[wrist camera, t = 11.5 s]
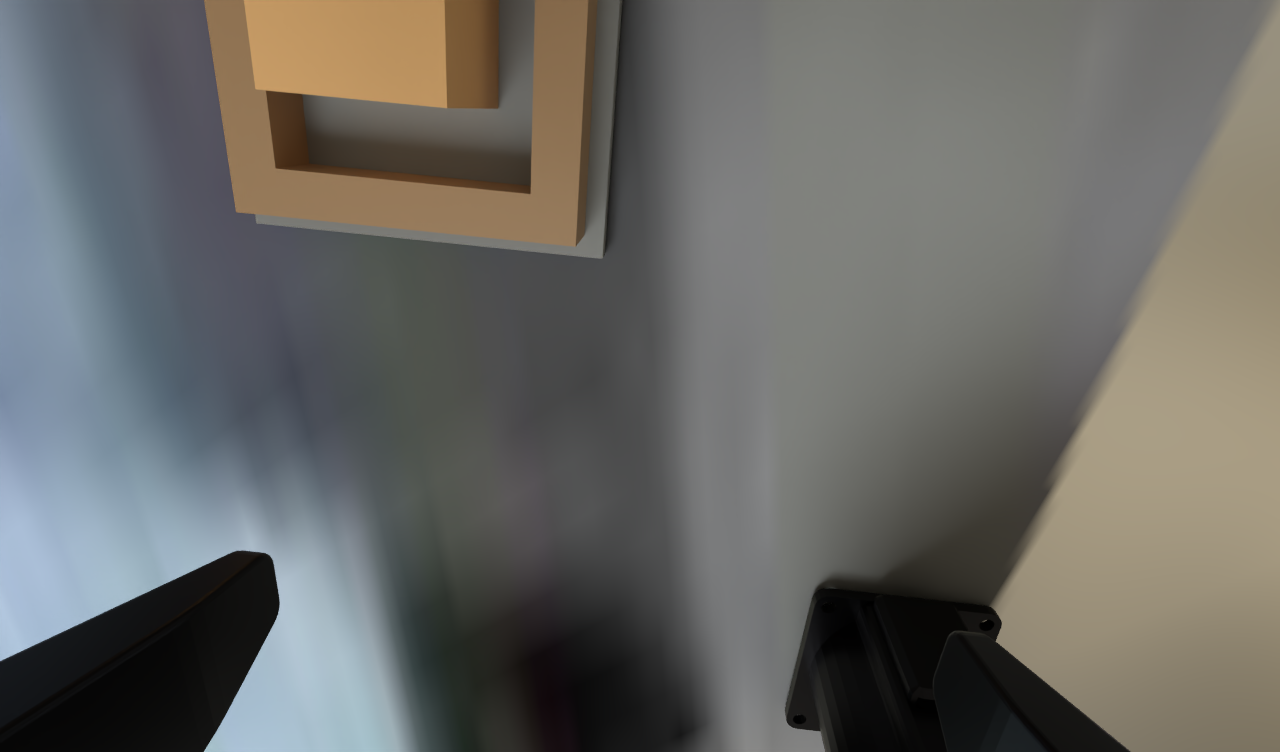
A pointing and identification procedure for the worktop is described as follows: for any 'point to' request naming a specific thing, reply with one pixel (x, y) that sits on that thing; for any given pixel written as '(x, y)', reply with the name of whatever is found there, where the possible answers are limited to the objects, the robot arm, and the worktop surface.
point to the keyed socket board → (438, 141)
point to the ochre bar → (378, 50)
